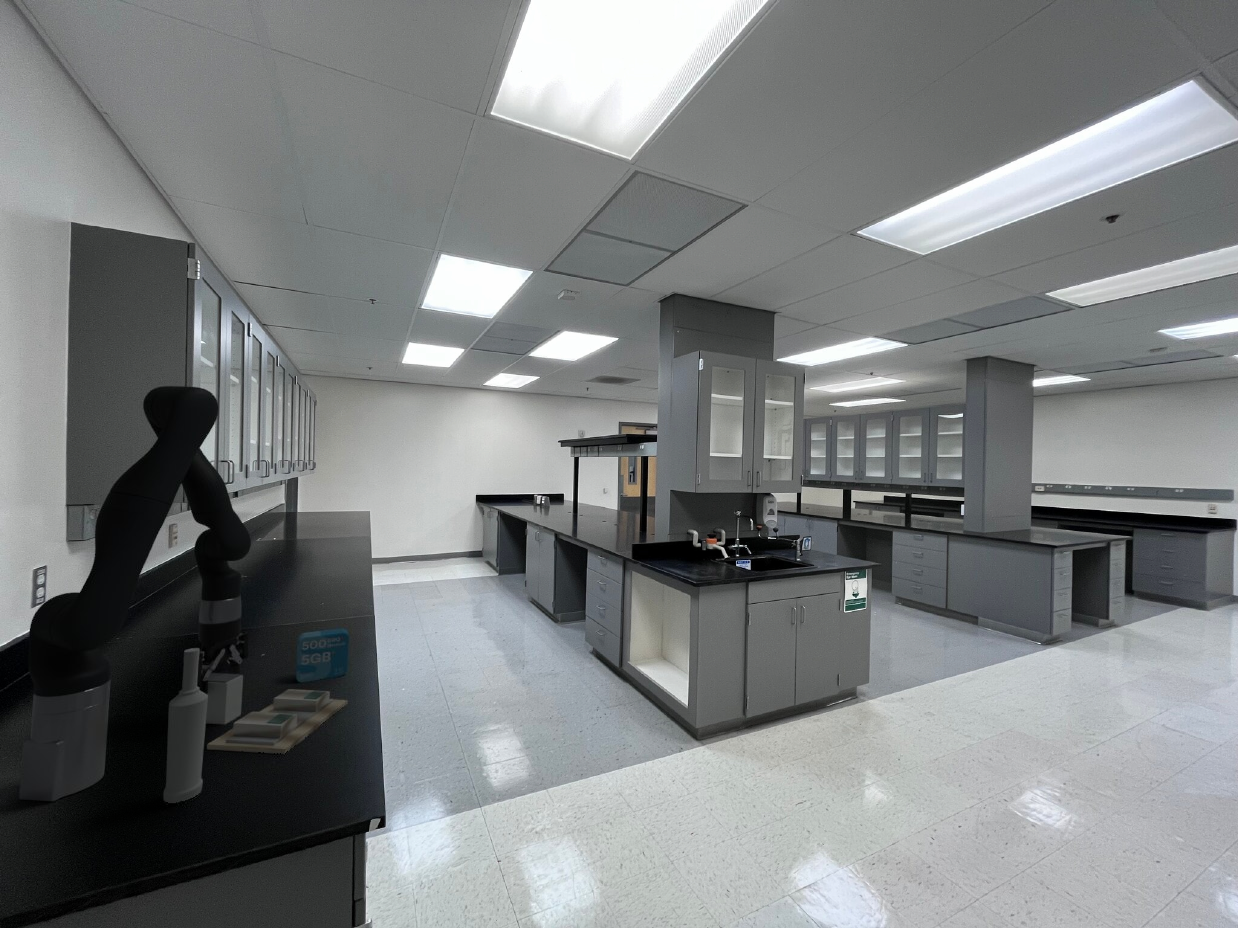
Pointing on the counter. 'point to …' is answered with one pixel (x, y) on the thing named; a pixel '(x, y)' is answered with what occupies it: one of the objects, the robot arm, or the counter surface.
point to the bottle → (186, 735)
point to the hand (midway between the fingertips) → (217, 688)
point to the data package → (322, 655)
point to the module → (224, 697)
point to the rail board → (280, 723)
